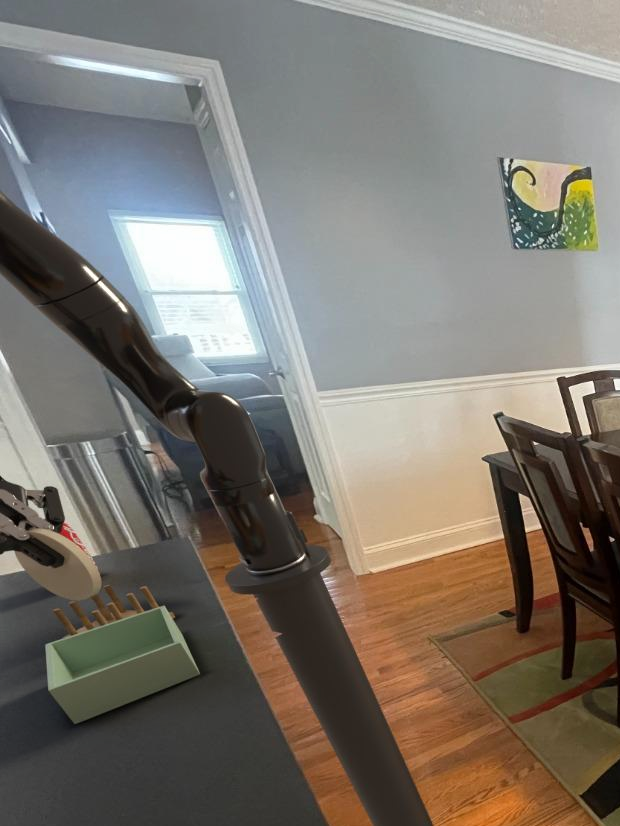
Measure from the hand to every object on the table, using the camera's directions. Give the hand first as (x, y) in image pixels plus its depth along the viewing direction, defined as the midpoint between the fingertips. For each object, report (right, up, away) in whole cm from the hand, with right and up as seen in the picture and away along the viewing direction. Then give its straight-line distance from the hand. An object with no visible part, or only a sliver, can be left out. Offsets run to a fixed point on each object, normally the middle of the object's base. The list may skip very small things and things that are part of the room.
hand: (68, 559), depth 75 cm
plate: (-2, -1, +1) cm, 2 cm away
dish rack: (-14, -11, +20) cm, 27 cm away
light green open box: (-1, -16, +9) cm, 19 cm away
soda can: (-39, -4, +35) cm, 53 cm away
